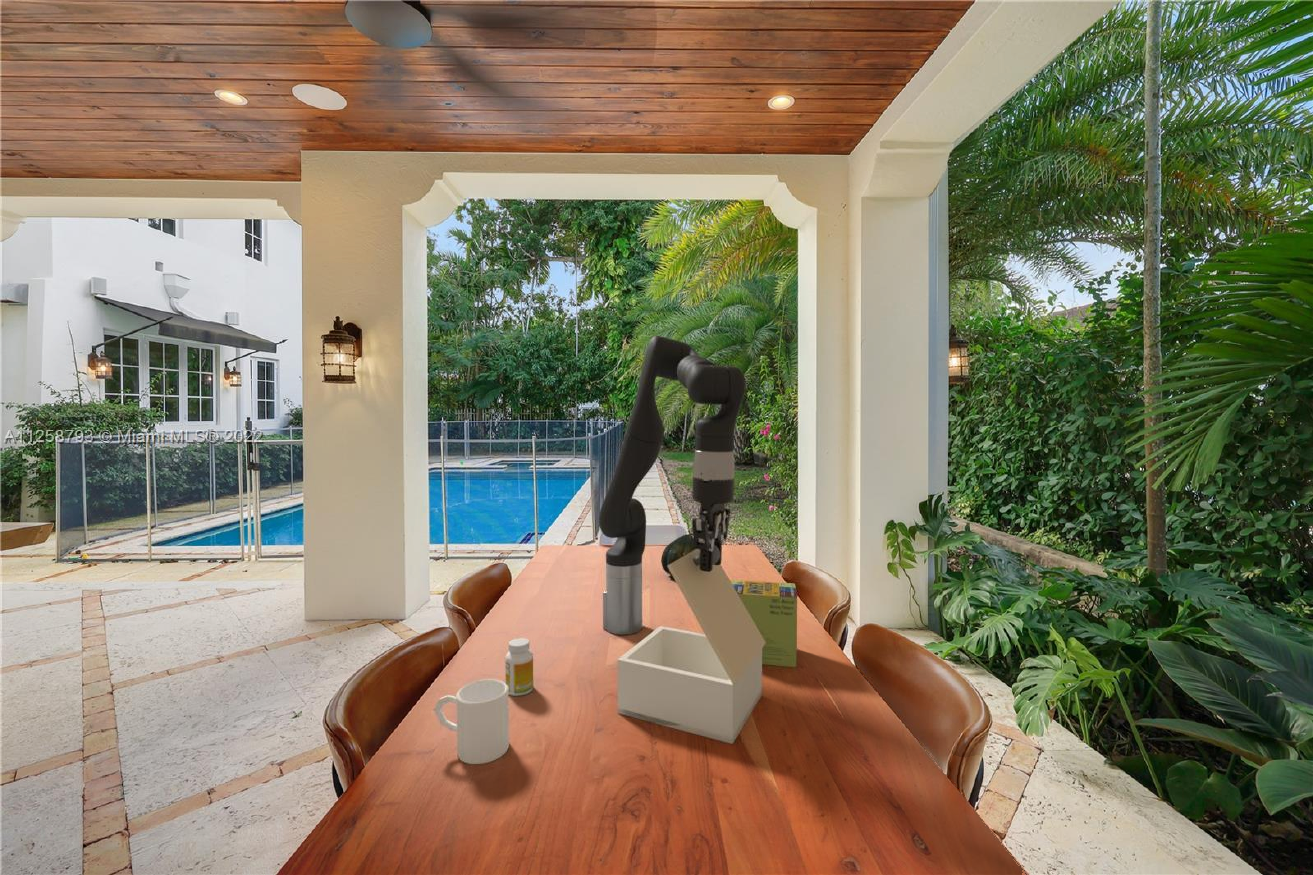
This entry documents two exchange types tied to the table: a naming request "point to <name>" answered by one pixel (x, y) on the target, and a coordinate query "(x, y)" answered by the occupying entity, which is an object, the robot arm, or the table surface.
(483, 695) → the mug
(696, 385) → the robot arm
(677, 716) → the carton
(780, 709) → the table surface
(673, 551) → the squash
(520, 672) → the supplement bottle
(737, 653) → the lid
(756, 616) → the protein box
